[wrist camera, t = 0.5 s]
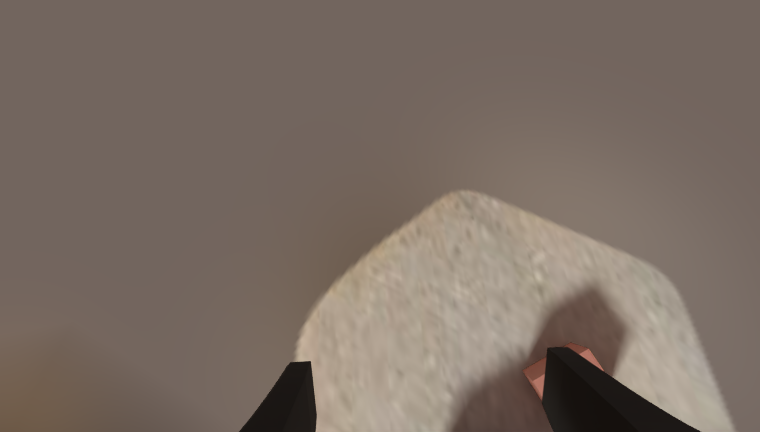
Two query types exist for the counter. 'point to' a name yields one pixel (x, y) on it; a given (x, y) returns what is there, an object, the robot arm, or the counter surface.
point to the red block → (537, 370)
